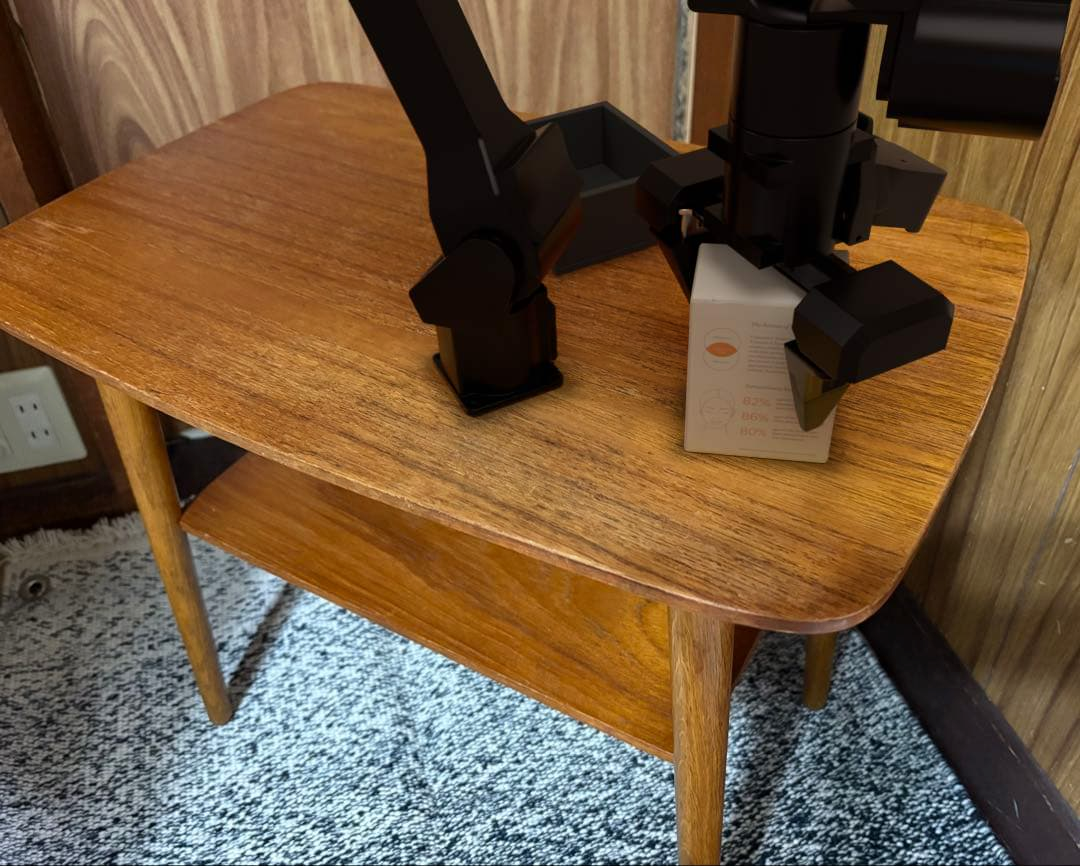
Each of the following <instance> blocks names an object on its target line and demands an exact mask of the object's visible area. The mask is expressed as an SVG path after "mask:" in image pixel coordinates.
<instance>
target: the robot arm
mask: <svg viewBox="0 0 1080 866" xmlns="http://www.w3.org/2000/svg"><path fill="white" fill-rule="evenodd" d="M347 2H348V4H349V5H350V8H351V9H352V11H353V13H354V15H355V18H356V19H357V21H358V24H359V25H360V27H361V29H362V31H363V33H364V35H365V37H366V39H367V41H368V43H369V45H370V46H371V50H373V53H374V55H375V57H376V59H377V60H378V63H379V65H380V66H381V69H382V70H383V72H384V74H385V76H386V79H387V80H388V82H389V84H390V86H391V88H392V90H393V92H394V94H395V96H396V98H397V100H398V101H399V103H400V105H401V108H402V110H403V111H404V113H405V115H406V117H407V119H408V121H409V123H410V125H411V127H412V129H413V131H414V133H415V135H416V137H417V139H418V141H419V143H420V145H421V146H422V147H421V148H422V151H423V154H424V157H425V173H426V191H427V207H428V217H429V221H430V223H431V226H432V228H433V232H434V234H435V238H436V241H437V242H438V246H439V248H440V251H441V253H440V254H439V256H438V257H437V258H436V259H435V260H434V261H433V263H432V264H431V265H430V266H429V267H428V268H427V270H426V271H425V272H424V273H423V274H422V275H421V276H420V278H419V279H418V280H417V281H416V282H415V283H414V285H413V286H412V287H411V288H410V289H409V290H408V293H407V294H408V297H409V299H410V301H411V304H412V305H413V307H414V309H415V311H416V313H417V315H418V317H419V319H420V321H421V322H422V323H423V324H425V325H431V326H435V332H436V339H437V345H438V352H436V353H434V354H432V356H431V357H432V358H431V359H432V360H431V361H432V365H433V366H434V367H435V369H436V371H437V372H438V374H439V375H440V376H441V378H442V380H443V381H444V382H445V384H446V385H447V387H448V388H449V390H450V391H451V392H452V394H453V396H454V397H455V399H456V400H457V401H458V403H459V404H460V406H461V408H462V409H463V410H464V412H465V413H466V414H467V415H469V416H479V415H481V414H484V413H487V412H490V411H493V410H495V409H498V408H501V407H505V406H507V405H510V404H513V403H516V402H519V401H521V400H524V399H525V400H526V399H527V398H530V397H534V396H536V395H539V394H542V393H545V392H548V391H550V390H553V389H556V388H560V387H561V386H563V385H564V383H565V378H564V374H563V373H562V371H560V369H559V368H558V367H557V366H556V365H555V363H554V361H557V360H558V357H559V345H558V343H559V342H558V325H557V308H556V307H557V306H556V305H555V303H554V302H553V301H552V300H551V299H550V298H549V295H548V294H549V293H548V287H547V286H546V285H545V283H543V281H544V280H545V279H546V278H547V276H548V274H549V273H550V271H552V270H551V268H552V267H553V266H554V264H555V263H556V261H557V260H558V259H559V257H560V256H561V254H562V253H563V251H564V250H565V249H566V247H567V246H568V244H569V243H570V241H571V240H572V239H573V237H574V236H575V234H576V232H577V230H578V227H579V225H580V222H581V219H582V217H583V204H582V201H581V197H580V193H581V192H582V190H583V189H584V188H585V186H586V184H587V183H586V181H585V180H584V179H583V178H582V177H581V176H580V175H579V174H578V173H577V171H576V170H575V168H574V166H573V165H572V163H571V161H570V159H569V156H568V153H567V150H566V146H565V142H564V138H563V134H562V132H561V130H560V129H559V127H558V125H557V124H556V123H555V122H550V123H549V124H547V125H545V126H543V127H541V128H540V129H538V130H536V131H535V130H534V129H532V128H531V127H530V126H529V125H528V124H526V123H525V122H524V121H525V120H523V119H522V118H521V117H519V116H518V115H517V114H516V113H514V112H513V111H512V110H511V109H510V108H509V106H508V105H507V103H506V102H505V100H504V98H503V96H502V93H501V92H500V89H499V88H498V85H497V83H496V81H495V78H494V76H493V74H492V72H491V70H490V68H489V65H488V64H487V63H488V62H487V60H486V59H485V57H484V54H483V52H482V50H481V48H480V46H479V43H478V42H477V39H476V37H475V34H474V32H473V30H472V29H471V28H472V27H471V26H470V23H469V22H468V20H467V16H466V14H465V13H464V10H463V7H462V6H461V4H460V2H459V0H347ZM1072 2H1073V0H686V5H687V8H688V9H689V11H691V12H692V13H700V14H713V15H725V16H727V15H729V16H734V25H733V26H734V27H733V40H732V55H731V67H730V68H731V70H730V80H729V81H730V83H729V99H728V113H727V114H728V115H727V123H725V124H721V125H718V126H714V127H709V128H708V130H707V146H705V147H701V148H698V149H693V150H691V151H687V152H683V153H680V155H676V156H673V157H669V158H666V159H662V160H659V161H655V162H652V163H650V164H649V165H648V166H647V168H646V169H645V170H644V172H643V173H642V174H641V176H640V177H639V178H638V180H637V181H636V182H635V212H636V213H637V214H638V215H639V216H640V217H641V218H643V219H644V220H645V221H646V222H647V223H649V224H650V226H649V232H650V235H651V236H652V237H653V238H654V239H655V241H656V242H657V244H658V245H657V246H658V248H659V249H660V251H661V254H662V255H663V257H664V259H665V260H666V262H667V264H668V266H669V268H670V270H671V272H672V273H673V275H674V277H675V279H676V281H677V283H678V285H679V287H680V289H681V291H682V293H683V295H684V297H685V299H686V301H687V303H688V305H689V306H690V300H691V294H692V287H693V281H694V275H695V269H696V263H697V258H698V252H699V247H700V245H701V244H702V243H707V244H726V245H728V246H729V247H730V248H732V249H733V250H734V251H735V252H737V253H738V254H739V255H740V256H742V257H743V258H744V259H746V260H747V261H748V262H749V263H751V264H752V265H753V266H754V267H756V268H757V269H758V270H761V269H765V268H768V267H773V268H774V269H775V270H777V271H778V272H779V273H780V274H782V275H783V276H784V277H786V278H787V279H788V280H790V281H791V282H792V283H793V284H795V285H796V286H797V287H799V288H800V289H801V290H803V291H804V292H805V293H806V296H805V297H804V298H803V299H802V300H801V302H800V303H799V304H798V305H797V306H796V307H795V309H794V314H793V321H792V331H793V334H794V336H795V339H794V340H791V341H788V342H786V343H784V350H785V356H786V361H787V367H788V372H789V377H790V383H791V388H792V394H793V399H794V405H795V410H796V414H797V418H798V421H799V425H800V428H801V429H802V430H803V431H804V432H808V431H810V430H813V429H815V428H818V427H820V426H821V425H822V424H823V422H824V421H825V420H826V418H827V417H828V416H829V414H830V413H831V411H832V410H833V409H834V407H835V406H836V405H837V406H838V403H839V402H840V400H841V399H842V398H843V396H844V395H845V393H847V391H848V389H849V388H850V387H851V385H857V384H858V383H862V382H864V381H866V380H869V379H872V378H874V377H877V376H879V375H882V374H885V373H887V372H890V371H893V370H895V369H898V368H900V367H904V366H905V365H906V366H907V365H909V364H910V363H914V362H916V361H918V360H921V359H924V358H927V357H929V356H932V355H934V354H937V353H940V352H942V351H944V350H946V349H947V345H948V341H949V338H950V334H951V329H952V326H953V323H954V318H955V308H956V305H955V304H954V303H953V302H952V301H951V300H950V299H949V298H948V297H947V296H946V295H945V294H944V293H942V292H941V291H939V290H938V289H936V288H935V287H933V286H932V285H930V284H929V283H927V282H926V281H925V280H923V279H922V278H920V277H918V276H917V275H916V274H913V273H912V272H910V271H909V270H908V269H906V268H904V266H902V265H900V264H898V262H896V261H894V260H893V259H888V260H886V261H883V262H880V263H877V264H874V265H871V266H868V267H864V268H861V269H860V270H857V269H856V268H854V267H853V266H852V265H851V264H850V265H849V264H847V263H846V262H844V261H843V260H842V259H840V258H839V257H837V256H836V255H834V254H833V251H834V250H835V248H836V247H835V246H836V245H839V244H841V243H843V244H844V245H845V246H848V247H852V246H856V245H858V244H861V243H864V242H867V241H869V240H870V237H871V233H872V227H881V228H893V229H904V231H905V232H907V233H909V234H917V233H920V231H921V230H922V228H923V225H924V224H925V222H926V219H927V217H928V215H929V213H930V212H931V209H932V207H933V205H934V203H935V201H936V199H937V197H938V195H939V193H940V191H941V189H942V187H943V185H944V183H945V182H946V179H947V177H948V175H949V174H948V171H946V170H945V169H943V168H941V167H940V166H938V165H936V164H934V163H933V162H931V161H929V160H927V159H925V158H924V157H922V156H919V155H918V154H916V153H915V152H912V151H910V150H909V149H906V148H905V147H904V146H901V145H900V144H897V143H894V142H892V141H889V140H886V139H884V138H883V137H881V136H879V135H877V134H874V119H873V117H872V116H870V115H868V114H866V113H865V112H863V111H860V105H861V99H862V91H863V87H864V79H865V74H866V68H867V67H866V66H867V61H868V54H869V47H870V42H871V37H872V28H873V25H879V26H880V25H881V26H886V32H885V37H884V43H883V47H882V51H881V52H882V54H881V58H880V64H879V68H878V70H879V71H878V74H877V81H876V88H875V89H876V90H875V101H880V102H881V101H882V102H887V105H886V111H885V119H888V120H889V119H890V120H897V125H896V126H897V128H899V129H901V128H902V129H909V130H910V129H911V130H919V131H929V132H940V133H941V132H942V133H949V134H959V135H961V134H962V135H969V136H979V137H988V138H989V137H991V138H999V139H1009V140H1021V141H1030V142H1039V141H1040V139H1041V138H1042V136H1043V135H1044V131H1045V129H1046V126H1047V123H1048V121H1049V117H1050V115H1051V111H1052V108H1053V105H1054V103H1055V102H1054V101H1055V99H1056V96H1057V93H1058V92H1057V91H1058V90H1059V86H1060V81H1061V75H1062V50H1063V46H1064V41H1065V36H1066V33H1067V32H1066V31H1067V28H1068V22H1069V17H1070V12H1071V8H1072V7H1071V6H1072ZM837 406H836V407H837Z"/></svg>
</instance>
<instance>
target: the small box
mask: <svg viewBox="0 0 1080 866" xmlns="http://www.w3.org/2000/svg"><path fill="white" fill-rule="evenodd" d="M833 254H834V255H836V256H837V257H839V258H840V259H842V260H843V261H844V262H846V263H847V264H849V265H850V266H851V263H850V260H851V259H850V251H849V249H834V251H833ZM805 296H806V293H805V292H804V291H803V290H801V289H800V288H799V287H797V286H796V285H795V284H793V283H792V282H791V281H790V280H788V279H787V278H786V277H784V276H783V275H782V274H780V273H779V272H778V271H777V270H775V269H774V268H773V267H768V268H765V269H761V270H758V269H757V268H756V267H754V266H753V265H752V264H751V263H749V262H748V261H747V260H746V259H744V258H743V257H742V256H740V255H739V254H738V253H737V252H735V251H734V250H733V249H732V248H730V247H729V246H728V245H726V244H707V243H702V244H701V245H700V247H699V252H698V258H697V263H696V269H695V275H694V281H693V287H692V294H691V300H690V305H689V322H688V323H689V324H688V325H689V326H688V348H687V349H688V350H687V370H686V371H687V373H686V390H685V391H686V395H685V415H684V416H685V417H684V419H685V420H684V440H683V442H684V443H683V449H684V451H686V452H690V453H691V452H693V453H702V454H703V453H704V454H716V455H726V456H737V457H749V458H759V459H760V458H761V459H771V460H772V459H773V460H782V461H783V460H784V461H794V462H795V461H796V462H807V463H819V464H825V463H827V462H828V460H829V454H830V448H831V441H832V437H833V429H834V424H835V423H834V422H835V417H836V412H837V406H838V404H837V405H836V406H835V407H834V409H833V410H832V411H831V413H830V414H829V416H828V417H827V418H826V420H825V421H824V422H823V424H822V425H821V426H820V427H818V428H815V429H813V430H810V431H808V432H804V431H803V430H802V429H801V428H800V425H799V421H798V418H797V414H796V410H795V405H794V399H793V394H792V388H791V383H790V377H789V372H788V367H787V361H786V356H785V350H784V343H786V342H788V341H791V340H794V339H795V336H794V334H793V331H792V321H793V314H794V309H795V307H796V306H797V305H798V304H799V303H800V302H801V300H802V299H803V298H804V297H805Z"/></svg>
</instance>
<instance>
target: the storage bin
mask: <svg viewBox="0 0 1080 866" xmlns="http://www.w3.org/2000/svg"><path fill="white" fill-rule="evenodd" d="M523 121H524V122H525V123H526V124H528V125H529V126H530V127H531V128H532V129H534V130H535V131H536V130H538V129H540V128H541V127H543V126H545V125H547V124H549V123H550V122H555V123H556V124H557V125H558V127H559V129H560V130H561V132H562V134H563V138H564V142H565V146H566V150H567V153H568V156H569V159H570V161H571V163H572V165H573V166H574V168H575V170H576V171H577V173H578V174H579V175H580V176H581V177H582V178H583V179H584V180H585V181H586V183H587V184H586V186H585V188H584V189H583V190H582V192H581V193H580V197H581V201H582V204H583V217H582V219H581V222H580V225H579V227H578V230H577V232H576V234H575V236H574V237H573V239H572V240H571V241H570V243H569V244H568V246H567V247H566V249H565V250H564V251H563V253H562V254H561V256H560V257H559V259H558V260H557V261H556V263H555V264H554V266H553V267H552V268H551V270H550V271H551V272H552V273H553V274H554V276H555V277H559V276H562V275H565V274H569V273H572V272H575V271H578V270H581V269H585V268H587V267H591V266H594V265H597V264H601V263H603V262H607V261H611V260H613V259H617V258H620V257H623V256H626V255H629V254H633V253H637V252H639V251H643V250H646V249H649V248H652V247H655V246H658V244H657V242H656V241H655V239H654V238H653V237H652V236H651V235H650V232H649V226H650V224H649V223H647V222H646V221H645V220H644V219H643V218H641V217H640V216H639V215H638V214H637V213H636V212H635V182H636V181H637V180H638V178H639V177H640V176H641V174H642V173H643V172H644V170H645V169H646V168H647V166H648V165H649V164H650V163H652V162H655V161H659V160H662V159H666V158H669V157H673V156H676V155H680V154H681V153H680V152H679V151H678V150H676V149H674V148H673V147H672V146H671V145H669V144H668V143H667V142H665V141H664V140H662V139H660V138H659V137H658V136H656V135H655V134H654V133H652V132H651V131H650V130H648V129H647V128H646V127H644V126H643V125H641V124H640V123H639V122H637V121H636V120H635V119H633V118H631V117H630V116H629V115H627V114H626V113H624V112H623V111H622V110H620V109H619V108H618V107H616V106H614V105H613V104H612V103H611V102H609V101H608V100H603V101H599V102H595V103H591V104H588V105H584V106H579V107H575V108H571V109H568V110H564V111H563V110H562V111H560V112H555V113H552V114H548V115H543V116H540V117H535V118H532V119H528V120H523Z"/></svg>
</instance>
